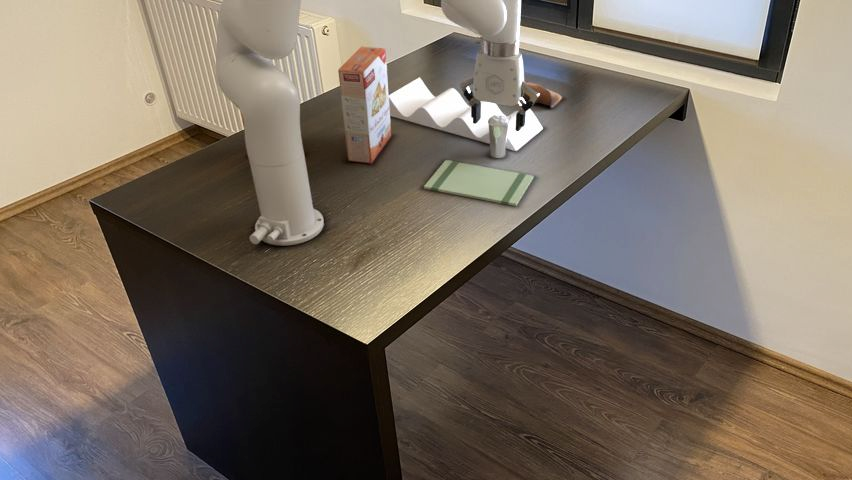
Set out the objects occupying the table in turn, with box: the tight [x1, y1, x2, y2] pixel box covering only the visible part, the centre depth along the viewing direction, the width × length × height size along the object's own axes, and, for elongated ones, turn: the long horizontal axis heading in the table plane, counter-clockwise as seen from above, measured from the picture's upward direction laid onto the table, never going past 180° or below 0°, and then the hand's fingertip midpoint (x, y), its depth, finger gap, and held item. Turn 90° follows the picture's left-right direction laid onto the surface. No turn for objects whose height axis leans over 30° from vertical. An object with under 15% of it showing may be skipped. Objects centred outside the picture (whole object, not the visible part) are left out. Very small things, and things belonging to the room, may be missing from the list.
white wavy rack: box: [389, 77, 544, 152], centre depth 177 cm, size 13×35×5 cm, turn 60°
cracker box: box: [337, 46, 392, 165], centre depth 161 cm, size 14×6×21 cm, turn 168°
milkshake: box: [488, 115, 511, 159], centre depth 163 cm, size 4×5×10 cm
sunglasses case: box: [522, 80, 563, 109], centre depth 189 cm, size 18×7×7 cm
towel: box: [423, 159, 535, 207], centre depth 156 cm, size 12×20×1 cm, turn 71°
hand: (497, 124), depth 161 cm, fingers open, 9 cm apart
